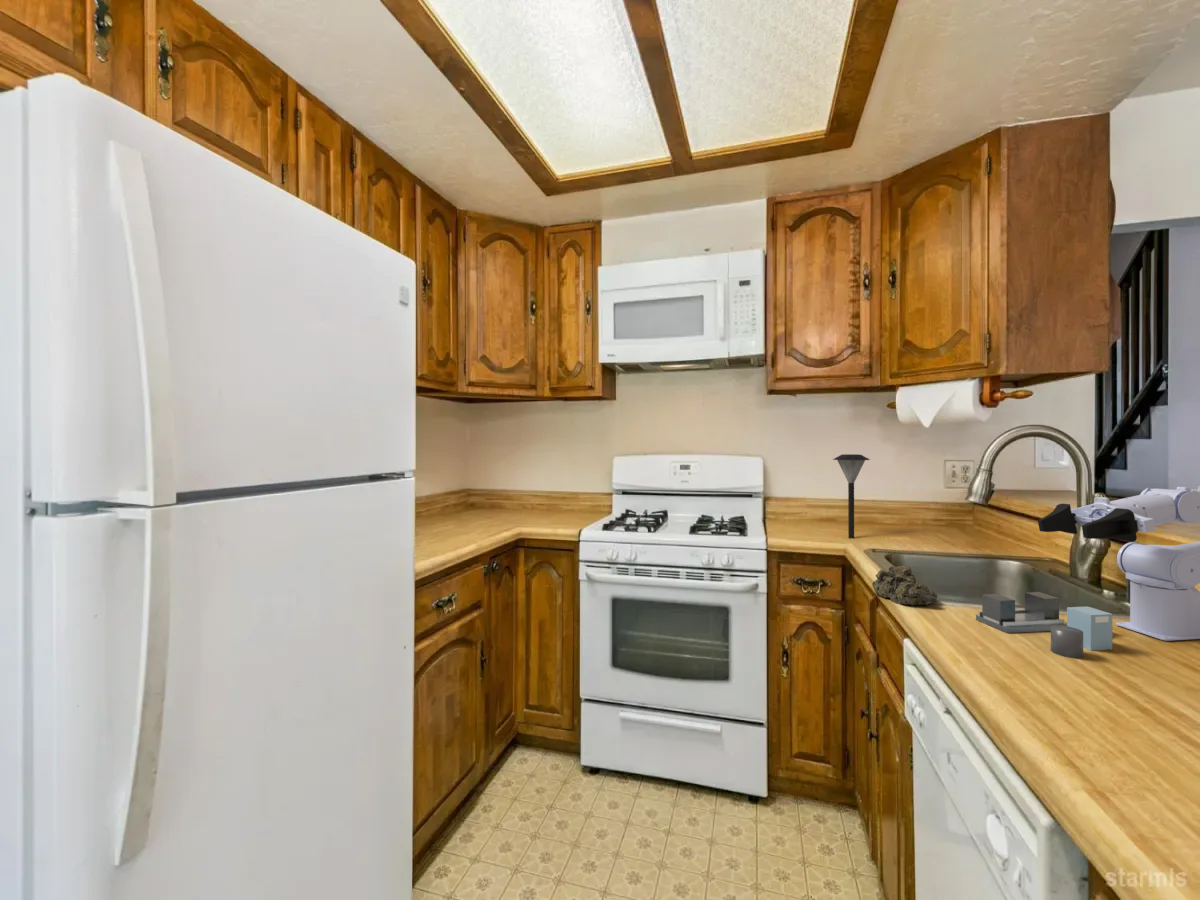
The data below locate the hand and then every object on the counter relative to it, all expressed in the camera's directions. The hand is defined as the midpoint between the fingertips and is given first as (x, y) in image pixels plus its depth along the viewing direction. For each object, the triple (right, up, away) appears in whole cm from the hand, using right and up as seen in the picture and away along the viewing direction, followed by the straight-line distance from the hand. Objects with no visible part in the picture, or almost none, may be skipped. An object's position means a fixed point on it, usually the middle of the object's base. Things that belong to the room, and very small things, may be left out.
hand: (1061, 528), depth 90 cm
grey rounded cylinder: (-4, -20, -6) cm, 21 cm away
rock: (-14, -20, +24) cm, 34 cm away
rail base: (-1, -20, +7) cm, 21 cm away
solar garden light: (+9, -18, +93) cm, 95 cm away
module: (+3, -20, -2) cm, 20 cm away
